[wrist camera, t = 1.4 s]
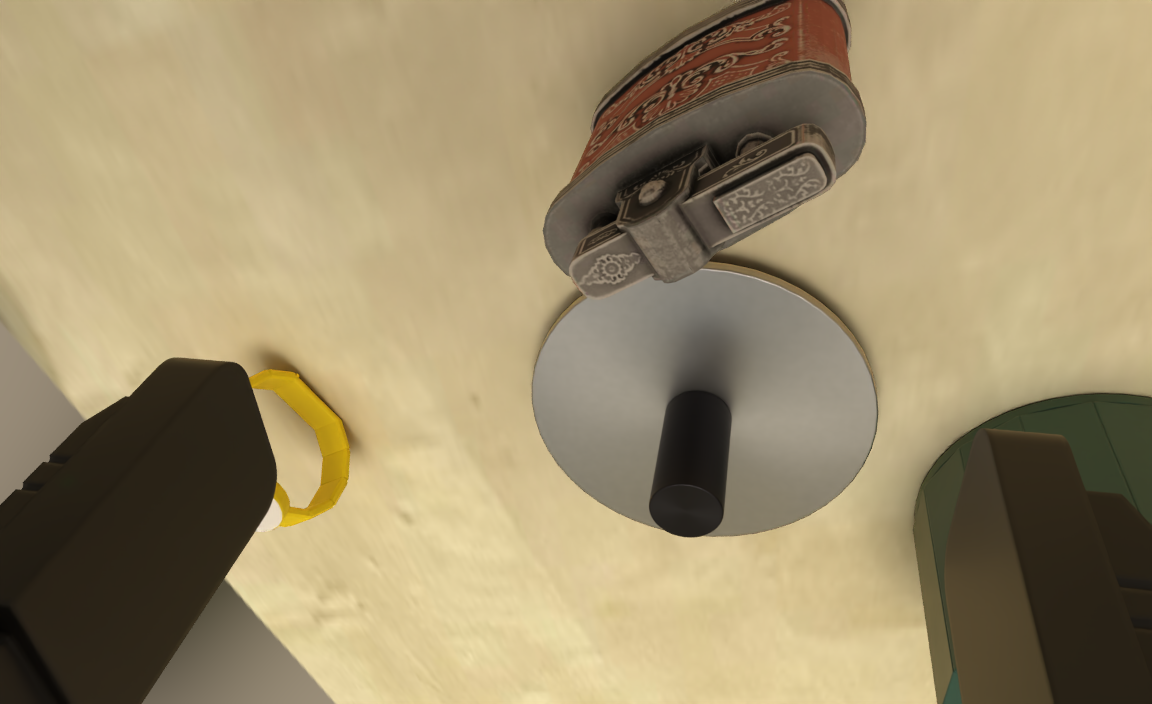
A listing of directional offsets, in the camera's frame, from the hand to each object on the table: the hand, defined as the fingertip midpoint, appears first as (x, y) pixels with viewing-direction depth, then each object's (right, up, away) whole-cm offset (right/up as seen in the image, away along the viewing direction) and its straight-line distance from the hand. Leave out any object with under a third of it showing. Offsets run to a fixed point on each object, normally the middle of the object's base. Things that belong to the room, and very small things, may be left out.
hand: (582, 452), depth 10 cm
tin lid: (+4, -1, +23) cm, 24 cm away
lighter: (+4, +9, +17) cm, 20 cm away
